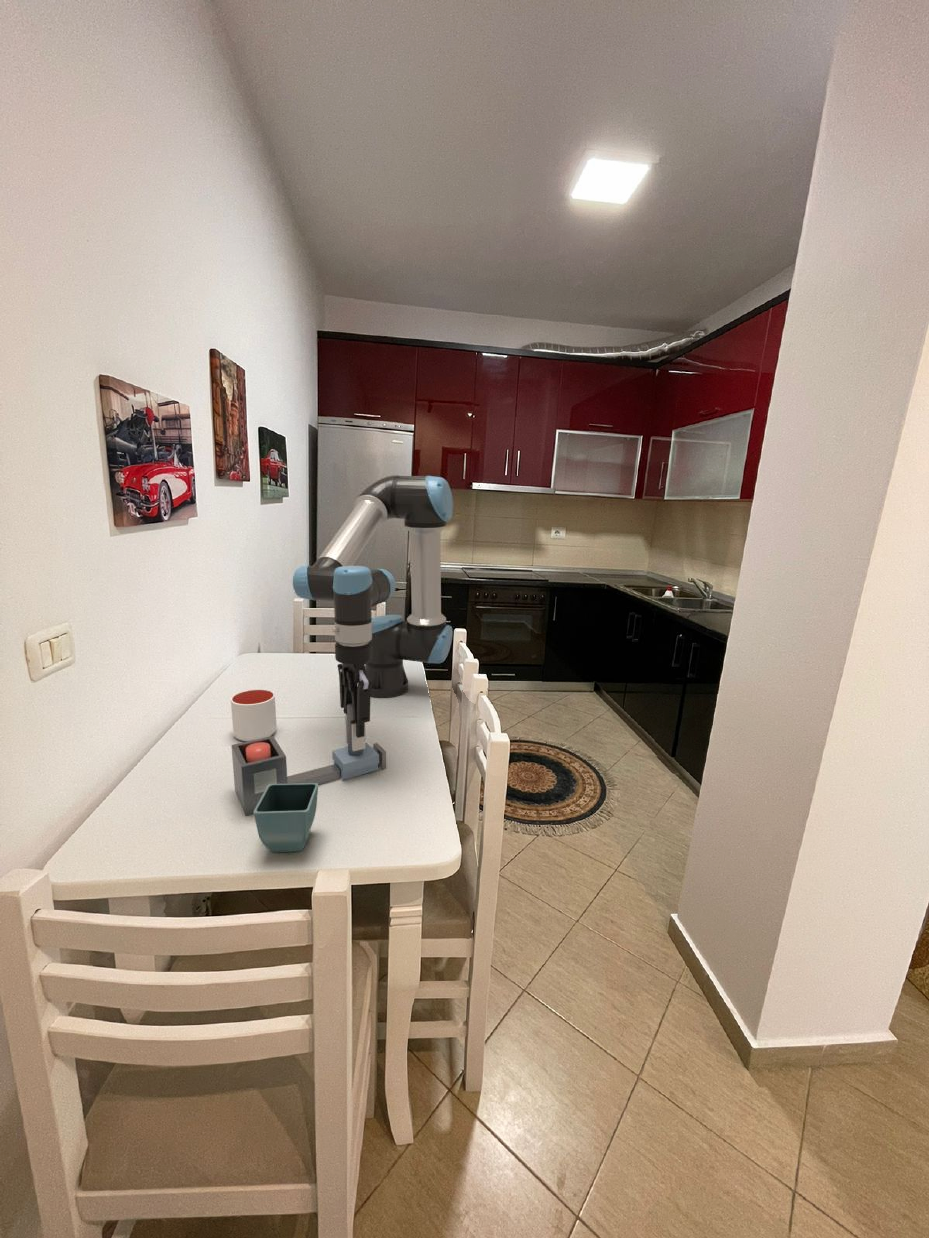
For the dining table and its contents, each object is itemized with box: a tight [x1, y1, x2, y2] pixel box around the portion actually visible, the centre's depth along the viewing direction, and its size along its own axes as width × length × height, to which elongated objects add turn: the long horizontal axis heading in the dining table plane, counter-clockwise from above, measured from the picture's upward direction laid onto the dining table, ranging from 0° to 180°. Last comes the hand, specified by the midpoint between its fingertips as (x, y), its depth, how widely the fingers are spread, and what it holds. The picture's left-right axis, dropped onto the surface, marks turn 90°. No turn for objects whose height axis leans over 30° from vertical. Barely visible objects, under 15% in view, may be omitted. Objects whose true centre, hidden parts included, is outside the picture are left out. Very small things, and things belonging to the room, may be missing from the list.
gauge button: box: [246, 742, 271, 763], centre depth 100 cm, size 4×4×5 cm
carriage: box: [331, 703, 379, 780], centre depth 111 cm, size 8×7×15 cm
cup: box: [230, 689, 278, 742], centre depth 127 cm, size 10×10×10 cm
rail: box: [287, 742, 387, 786], centre depth 110 cm, size 22×5×4 cm, turn 123°
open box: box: [230, 735, 288, 816], centre depth 101 cm, size 8×10×10 cm
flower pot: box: [252, 783, 319, 853], centre depth 88 cm, size 9×9×9 cm
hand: (355, 745), depth 112 cm, fingers closed on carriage, 3 cm apart
